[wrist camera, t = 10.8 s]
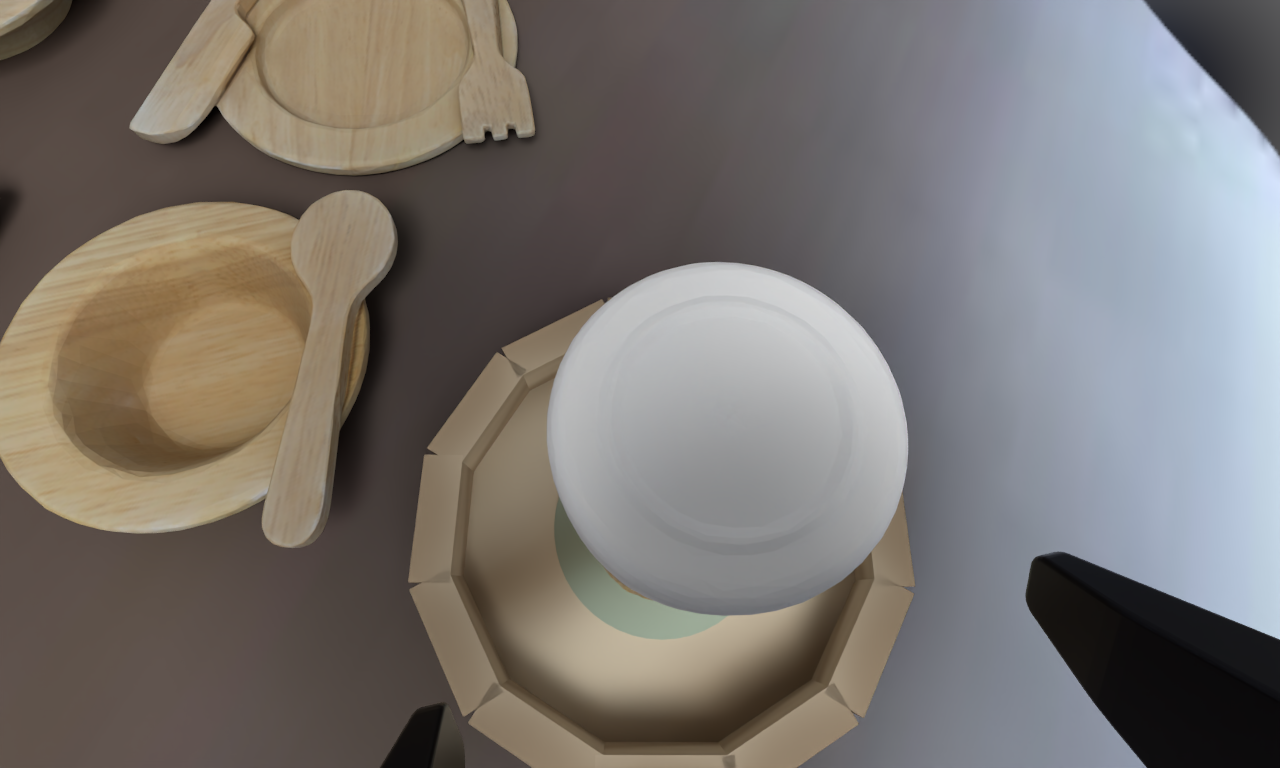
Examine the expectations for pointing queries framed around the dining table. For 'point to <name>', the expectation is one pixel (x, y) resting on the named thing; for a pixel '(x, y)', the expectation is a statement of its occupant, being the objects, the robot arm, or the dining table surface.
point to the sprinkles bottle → (726, 439)
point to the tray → (618, 612)
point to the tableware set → (242, 266)
